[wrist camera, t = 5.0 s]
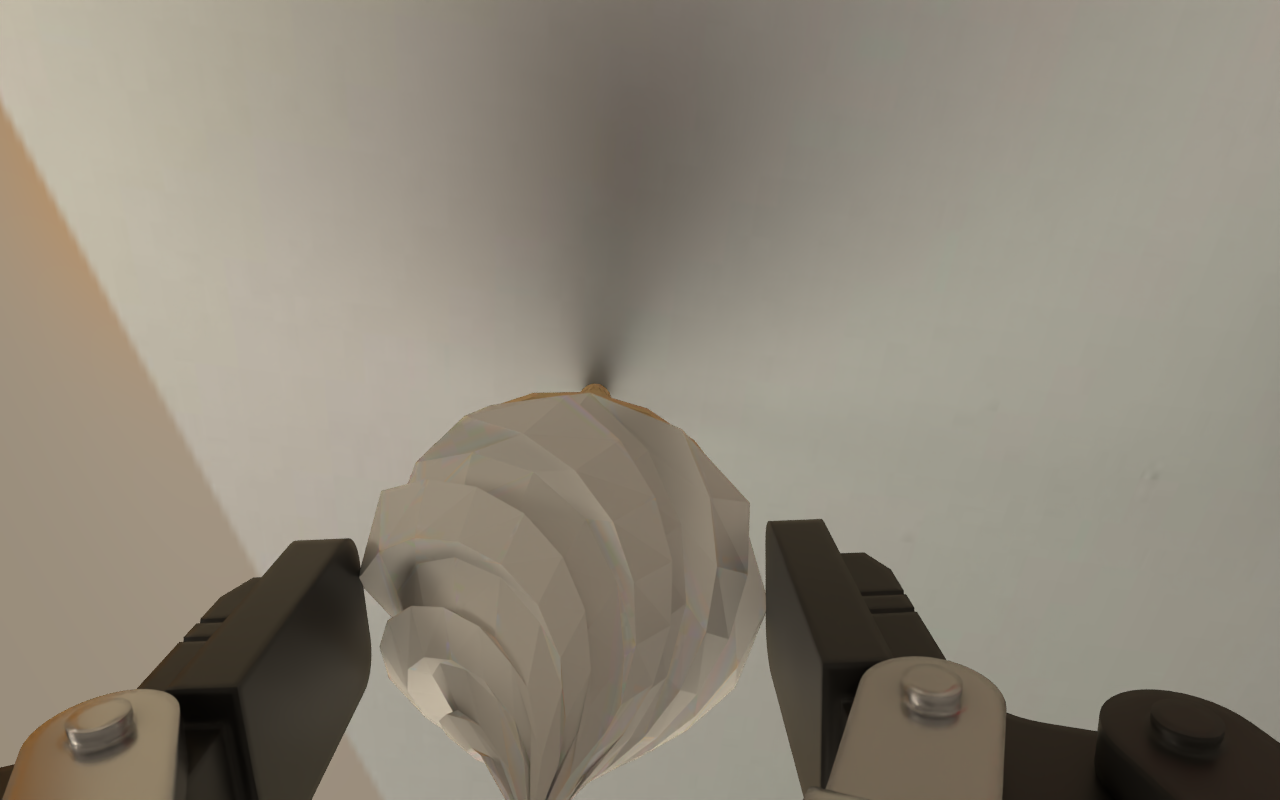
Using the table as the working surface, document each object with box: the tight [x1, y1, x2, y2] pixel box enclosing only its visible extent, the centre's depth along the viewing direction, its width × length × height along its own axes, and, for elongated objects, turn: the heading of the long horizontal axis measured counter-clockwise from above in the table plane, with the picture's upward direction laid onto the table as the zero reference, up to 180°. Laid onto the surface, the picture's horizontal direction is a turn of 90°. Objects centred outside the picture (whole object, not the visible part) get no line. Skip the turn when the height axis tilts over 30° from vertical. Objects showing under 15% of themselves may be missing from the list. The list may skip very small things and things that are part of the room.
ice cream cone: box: [359, 384, 766, 800], centre depth 15 cm, size 6×6×15 cm
